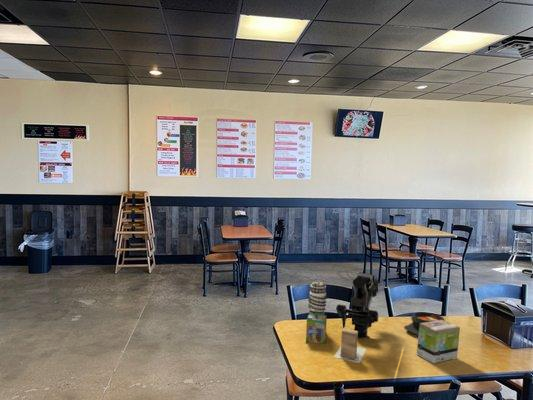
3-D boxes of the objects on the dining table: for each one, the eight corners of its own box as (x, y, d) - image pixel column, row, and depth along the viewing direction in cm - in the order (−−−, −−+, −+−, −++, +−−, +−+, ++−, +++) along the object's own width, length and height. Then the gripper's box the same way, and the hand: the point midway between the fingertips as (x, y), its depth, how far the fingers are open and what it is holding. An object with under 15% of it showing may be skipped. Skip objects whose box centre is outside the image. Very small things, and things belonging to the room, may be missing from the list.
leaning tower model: (327, 334, 198) (330, 285, 197) (310, 335, 196) (312, 285, 195) (321, 327, 207) (323, 280, 206) (304, 328, 205) (306, 280, 204)
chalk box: (325, 346, 185) (326, 314, 184) (305, 343, 187) (307, 312, 186) (326, 338, 194) (327, 308, 193) (307, 335, 196) (308, 306, 195)
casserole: (433, 324, 221) (434, 309, 221) (460, 337, 204) (461, 320, 203) (396, 328, 212) (397, 312, 212) (421, 342, 195) (422, 325, 194)
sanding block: (342, 352, 176) (344, 328, 175) (356, 355, 173) (357, 331, 173) (340, 356, 172) (342, 331, 172) (354, 359, 170) (356, 334, 169)
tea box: (434, 364, 171) (437, 330, 170) (416, 354, 180) (418, 322, 179) (458, 358, 178) (460, 326, 177) (439, 349, 187) (441, 318, 186)
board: (342, 345, 186) (342, 343, 186) (366, 350, 181) (366, 348, 181) (333, 359, 171) (333, 357, 171) (359, 365, 167) (359, 363, 167)
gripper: (338, 287, 187) (330, 317, 178) (379, 293, 180) (373, 325, 170) (341, 299, 195) (334, 329, 186) (380, 306, 187) (375, 337, 178)
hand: (353, 329), depth 180 cm, fingers open, 9 cm apart
